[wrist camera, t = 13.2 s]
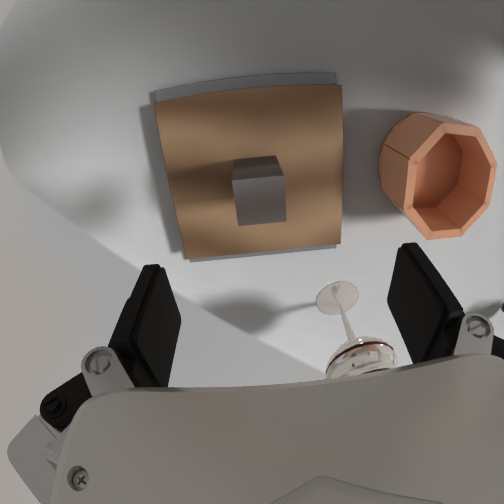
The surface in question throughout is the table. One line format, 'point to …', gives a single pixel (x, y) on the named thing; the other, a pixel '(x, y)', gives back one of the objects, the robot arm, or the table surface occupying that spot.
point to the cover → (255, 168)
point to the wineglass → (353, 337)
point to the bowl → (437, 173)
